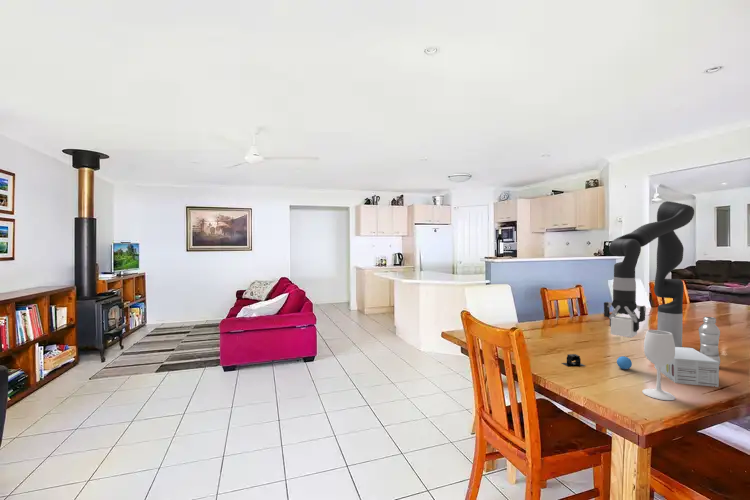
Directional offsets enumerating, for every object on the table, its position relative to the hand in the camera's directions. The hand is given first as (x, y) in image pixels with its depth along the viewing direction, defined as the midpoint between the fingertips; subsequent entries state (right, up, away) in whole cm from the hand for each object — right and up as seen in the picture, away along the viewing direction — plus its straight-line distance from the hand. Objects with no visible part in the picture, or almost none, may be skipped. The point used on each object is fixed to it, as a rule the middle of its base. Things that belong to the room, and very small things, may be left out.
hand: (623, 329), depth 144 cm
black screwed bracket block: (-17, -17, +5) cm, 25 cm away
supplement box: (+17, -16, -8) cm, 25 cm away
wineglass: (-6, -16, -25) cm, 30 cm away
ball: (0, -13, 0) cm, 13 cm away
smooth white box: (0, -2, 0) cm, 2 cm away
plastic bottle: (+37, -16, +3) cm, 40 cm away
